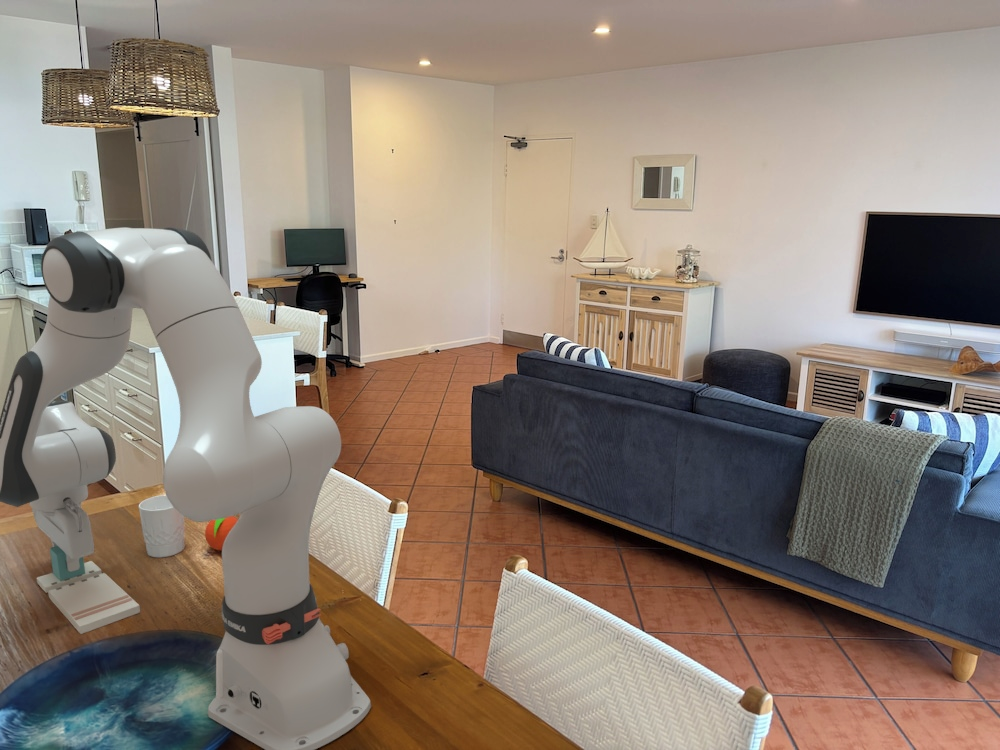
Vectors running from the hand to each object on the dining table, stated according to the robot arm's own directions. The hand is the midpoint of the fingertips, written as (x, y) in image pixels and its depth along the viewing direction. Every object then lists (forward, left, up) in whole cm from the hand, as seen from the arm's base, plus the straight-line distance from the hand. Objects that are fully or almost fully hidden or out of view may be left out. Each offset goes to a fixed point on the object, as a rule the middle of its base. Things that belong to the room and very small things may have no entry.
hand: (67, 564), depth 131 cm
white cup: (0, -17, -3) cm, 17 cm away
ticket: (-12, 0, -3) cm, 12 cm away
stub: (0, 0, -3) cm, 3 cm away
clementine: (-8, -25, -3) cm, 26 cm away
